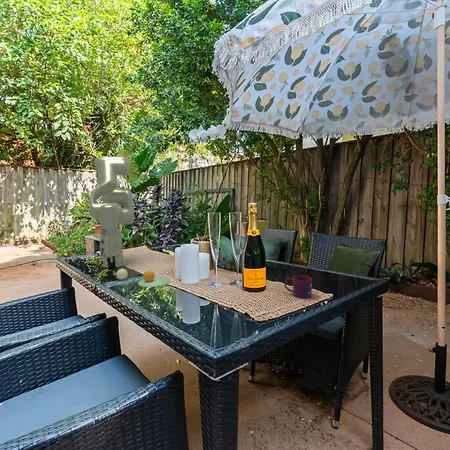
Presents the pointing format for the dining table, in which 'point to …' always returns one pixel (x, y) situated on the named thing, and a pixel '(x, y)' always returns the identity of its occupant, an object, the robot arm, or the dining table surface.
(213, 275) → the dining table surface
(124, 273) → the ivory ball
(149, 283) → the mint mark
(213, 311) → the dining table surface
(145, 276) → the orange ball
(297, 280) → the mug
